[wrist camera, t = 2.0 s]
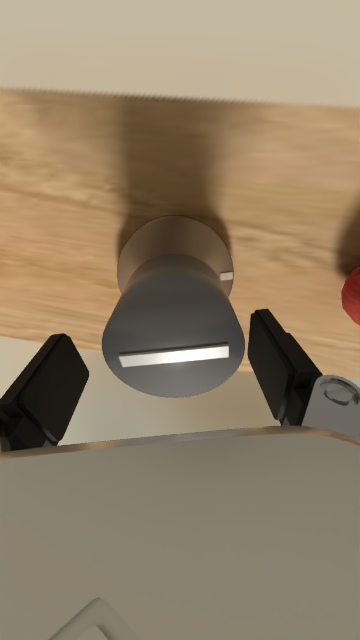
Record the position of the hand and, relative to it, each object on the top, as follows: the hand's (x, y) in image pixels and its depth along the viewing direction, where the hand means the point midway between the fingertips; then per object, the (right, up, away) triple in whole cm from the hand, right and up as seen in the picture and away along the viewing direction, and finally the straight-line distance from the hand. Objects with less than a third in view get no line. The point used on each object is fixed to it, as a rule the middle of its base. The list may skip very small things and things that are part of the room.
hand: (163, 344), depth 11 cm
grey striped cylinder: (+1, +2, +4) cm, 4 cm away
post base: (+1, +5, +7) cm, 9 cm away
